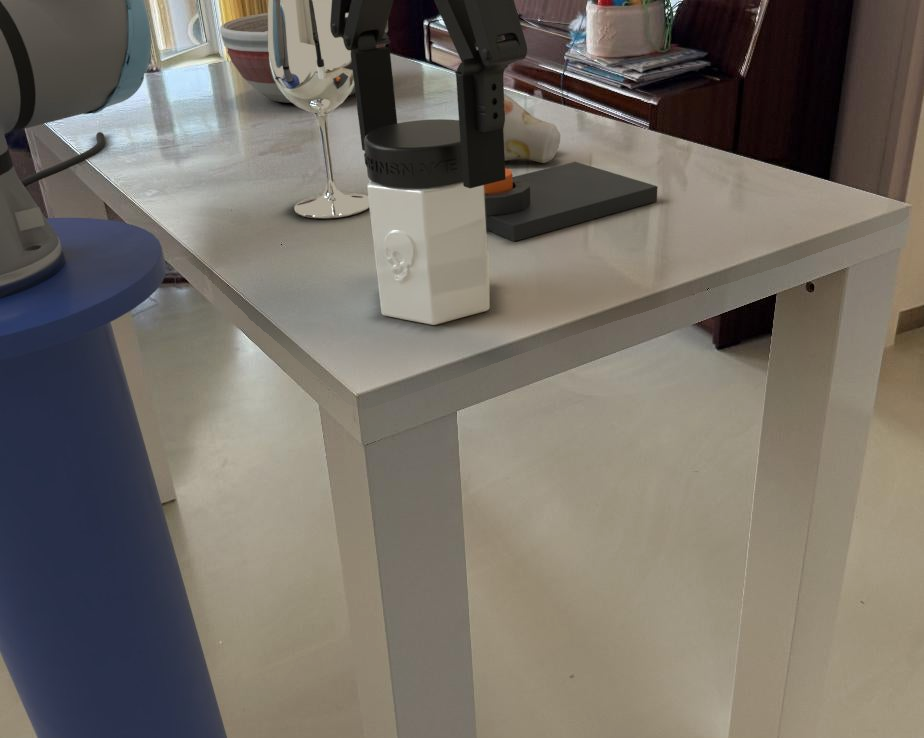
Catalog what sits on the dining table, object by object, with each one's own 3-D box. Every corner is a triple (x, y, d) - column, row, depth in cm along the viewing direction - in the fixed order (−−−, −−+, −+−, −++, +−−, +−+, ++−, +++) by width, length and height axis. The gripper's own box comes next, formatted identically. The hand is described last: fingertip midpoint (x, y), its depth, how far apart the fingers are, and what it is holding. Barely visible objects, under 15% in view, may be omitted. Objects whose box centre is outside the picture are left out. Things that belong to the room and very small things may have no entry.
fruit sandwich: (560, 173, 99) (507, 86, 94) (486, 207, 105) (433, 127, 100) (581, 137, 103) (531, 52, 98) (509, 171, 110) (459, 93, 105)
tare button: (464, 190, 86) (463, 173, 85) (497, 182, 88) (496, 165, 87) (487, 199, 84) (486, 181, 83) (520, 190, 85) (520, 172, 84)
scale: (428, 213, 90) (425, 180, 89) (575, 175, 97) (575, 144, 96) (502, 245, 82) (500, 209, 80) (657, 201, 89) (658, 167, 87)
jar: (355, 312, 71) (333, 142, 65) (416, 275, 77) (402, 115, 70) (459, 333, 67) (447, 153, 60) (516, 291, 73) (511, 123, 66)
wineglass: (368, 191, 97) (342, -38, 86) (379, 213, 91) (353, -31, 80) (290, 200, 96) (253, -30, 85) (296, 224, 90) (257, -22, 79)
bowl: (200, 105, 138) (185, 27, 132) (319, 75, 152) (310, 3, 146) (308, 122, 125) (296, 36, 119) (428, 87, 139) (422, 9, 133)
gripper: (589, -256, 47) (588, 187, 59) (352, -207, 65) (387, 126, 77) (459, -253, 44) (485, 215, 56) (248, -202, 62) (301, 144, 74)
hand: (429, 164), depth 66 cm, fingers open, 13 cm apart
